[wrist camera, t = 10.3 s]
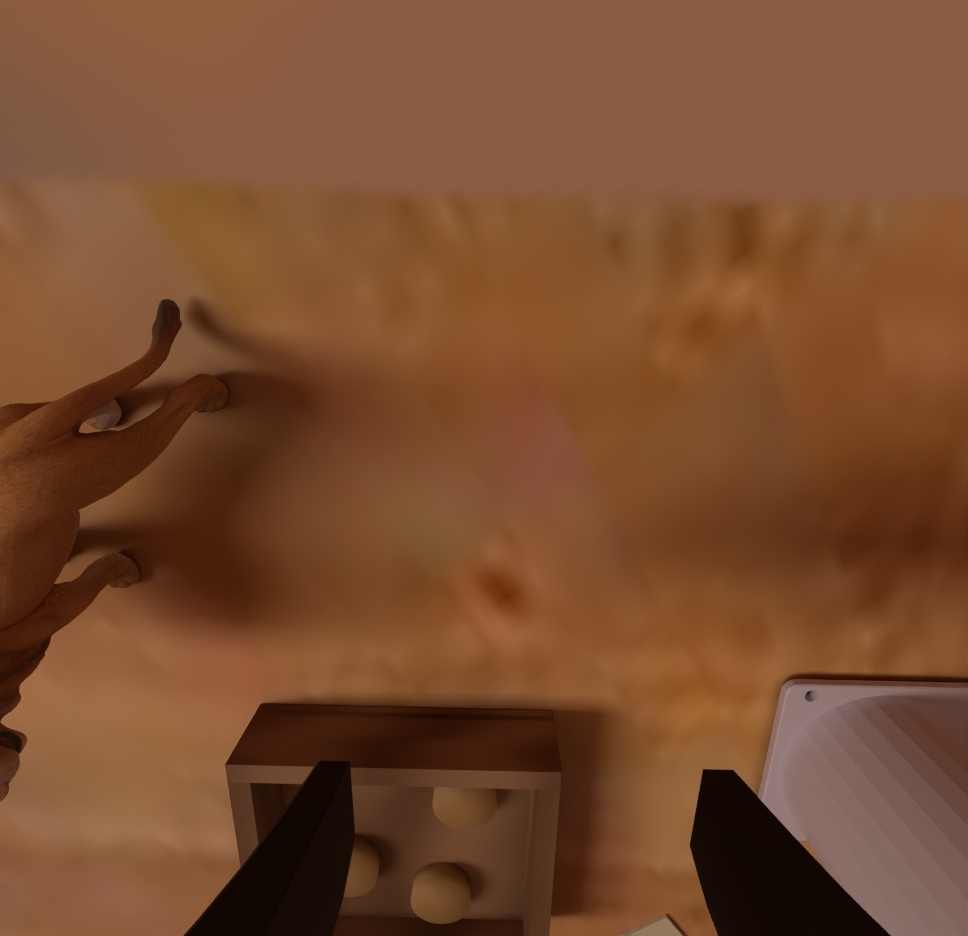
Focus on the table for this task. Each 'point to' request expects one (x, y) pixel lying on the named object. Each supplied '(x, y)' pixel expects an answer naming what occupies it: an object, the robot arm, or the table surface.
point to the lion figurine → (72, 504)
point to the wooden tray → (419, 811)
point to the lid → (656, 928)
